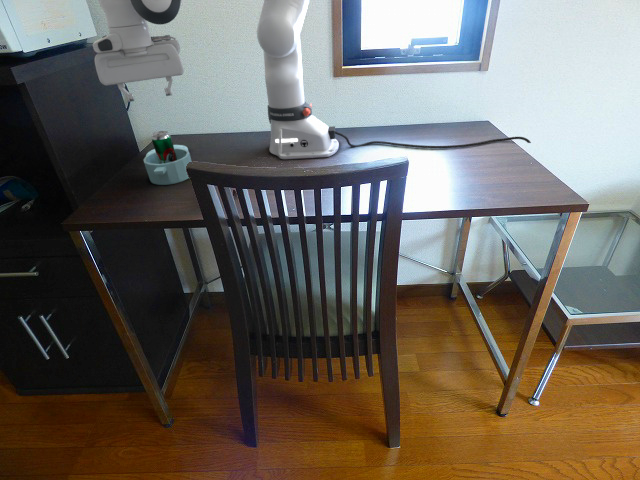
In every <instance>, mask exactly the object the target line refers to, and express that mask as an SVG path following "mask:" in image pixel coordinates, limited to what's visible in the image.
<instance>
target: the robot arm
mask: <svg viewBox="0 0 640 480" xmlns="http://www.w3.org/2000/svg"><path fill="white" fill-rule="evenodd" d="M98 3H99V5H100V8H101V9H102V12H103V13H104V15H105V18H106V26H107V30H108V32H109V33H108V34H106V35H103V36H102V37H101V38H99V39H97V40H95V41H94V42H93V43H92V48H93V51H94V52H95V53H96V55H95V56H94V66H95V70H96V74H97V77H98V79H99V83H100V84H102V85H104V86H115V85H117V87H118V88H117V89H118V90H119V91H121V93H122V94H124V95H125V96H126V99H127V102H129V103H130V102H135V97H134V93H133V92H129V91H128V90H127V89H126V88H125V87H126V84H127V83H135V82H141V81H148V80H156V79H164V78H165V81H166V82H168V84H167V87H164V93H165V96H166V97H169V96H173V92H172V89H171V88H172V84H173V77H178V76H183V74H184V73H185V67H184V64H183V61H182V59H181V57H180V52H181V47H180V44H179V40H178V39H177V38H176V37H174V36H171V35H170V34H165V35H156V36H152V34H151V32H150V29H149V24H148V22H149V23H150V24H154V25H160V26H161V25H166V24H169V23H171V22H172V21H173V20H175V18H176V17H177V16H178V14H179V11H180V8H181V7H182V6H181V5H182V0H98ZM309 3H310V0H263V3H262V8H261V12H260V15H259V19H258V23H257V28H256V38H257V42H258V44H259V46H260V48H261V49H262V50H263V61H264V62H263V63H264V64H263V65H264V80H265V81H264V82H265V88H266V95H267V96H266V97H267V103H268V104H267V118H268V121H269V124H270V141H269V149H268V150H269V152H270V153H271V154H272V155H274V156H277V157H278V158H279V159H281V160H298V159H314V158H329V157H332V156H334V154H336V153H337V151H338V150H339V147H340V144H339V141H338V140H337V139H336V135H338V136H340V137H342V138H344V139H345V140H346V143H347V145H348V146H349V147H351V148H359V147H364V146H369V145H372V144H373V145H375V144H380V145H381V144H382V145H391V146H396V147H397V146H398V147H408V148H419V149H453V148H454V149H457V148H467V147H473V146H481V145H485V144H491V143H497V142H506V141H512V140H522V141H525V142H526V143H527V144H531V143H532V142H531V141H530V140H529V139H528V138H526V137H525V136H509V137H504V138H493V139H489V140H484V141H480V142H479V141H478V142H472V143H465V144H452V145H425V144H424V145H423V144H422V145H421V144H410V143H401V142H391V141H385V140H384V141H383V140H373V141H372V140H371V141H368V142H365V143H361V144H357V145H355V144H352V143H351V142H350V139H349V138H348V137H347V135H345V134H344V133H341V132H339V131H336V126H328V125H327V124H326V123H325V122H323V121H321V120H320V118H319V119H318V118H317V117H316V116H315V115H313V110H312V109H313V107H312V106H313V103H308V102H306V101H305V90H304V78H303V76H304V75H303V62H302V61H303V60H302V45H301V32H302V28H303V25H304V22H305V21H304V20H305V18H306V14H307V10H308V6H309Z"/></svg>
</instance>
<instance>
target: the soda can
mask: <svg viewBox="0 0 640 480" xmlns="http://www.w3.org/2000/svg"><path fill="white" fill-rule="evenodd" d="M151 141H152V145H153V148H154V149H155V152H156V155H157V158H158V161H159V164H164V163H169V162H174V161H176V160H177V157H176V153H175V149H174V146H173V145H174V143H173V139H172V136H171V134H170V133H169V131H167V130H160V131H155V132H153V133H152V134H151Z"/></svg>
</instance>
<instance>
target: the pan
mask: <svg viewBox="0 0 640 480" xmlns="http://www.w3.org/2000/svg"><path fill="white" fill-rule="evenodd" d="M174 149H175V153H176V157H177V160H176V161H174V162H169V163H164V164H159V161H158V158H157V155H156V152H154V153H151V154H149V155H148V156H146V155H145V157H144V158H143V159H142V161H143V164H144V166H145V169H146V173H147V175H148V178H149V181H150V183H151V184H154V185H157V186H164V185H165V186H166V185H173V184H179V183H182V182H184V181H187V180H188V179H190V178H189V177H188V175H187V172H186V166H187V164H188V163H189V162H192V163H193V161H192V158H191V153H190V151H189V149H188V150H186V149H182V148H179V147H175V148H174Z"/></svg>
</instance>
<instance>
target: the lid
mask: <svg viewBox="0 0 640 480" xmlns="http://www.w3.org/2000/svg"><path fill="white" fill-rule="evenodd" d="M173 146H174V148H175V147H179V148H182V149H186V150H188V151H189V148H188V147H187V146H186V145H184V144H173ZM154 152H155V148H154V149H151V150H149V151H148V152H147V153H146V155H145V157H146V156H148V155H149V154H151V153H154Z"/></svg>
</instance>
